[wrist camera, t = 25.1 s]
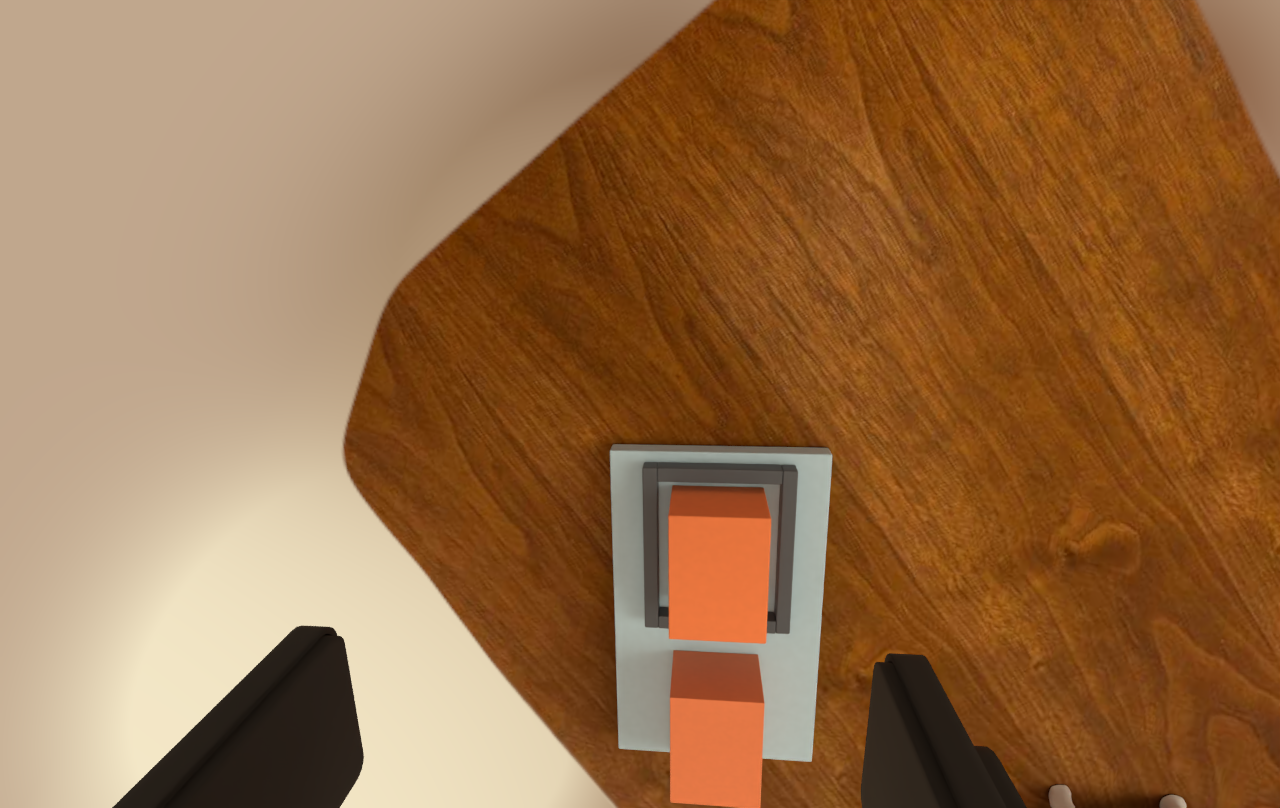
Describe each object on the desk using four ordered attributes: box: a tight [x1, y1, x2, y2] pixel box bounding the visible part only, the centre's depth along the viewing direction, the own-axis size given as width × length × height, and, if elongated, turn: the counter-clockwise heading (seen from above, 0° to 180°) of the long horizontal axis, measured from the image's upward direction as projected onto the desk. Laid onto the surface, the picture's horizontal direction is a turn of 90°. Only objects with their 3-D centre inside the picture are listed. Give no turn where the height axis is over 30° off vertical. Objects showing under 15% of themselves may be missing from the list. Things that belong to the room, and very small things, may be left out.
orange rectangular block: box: [668, 485, 771, 644], centre depth 33 cm, size 5×7×4 cm
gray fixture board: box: [610, 444, 832, 808], centre depth 34 cm, size 12×20×5 cm, turn 1°
